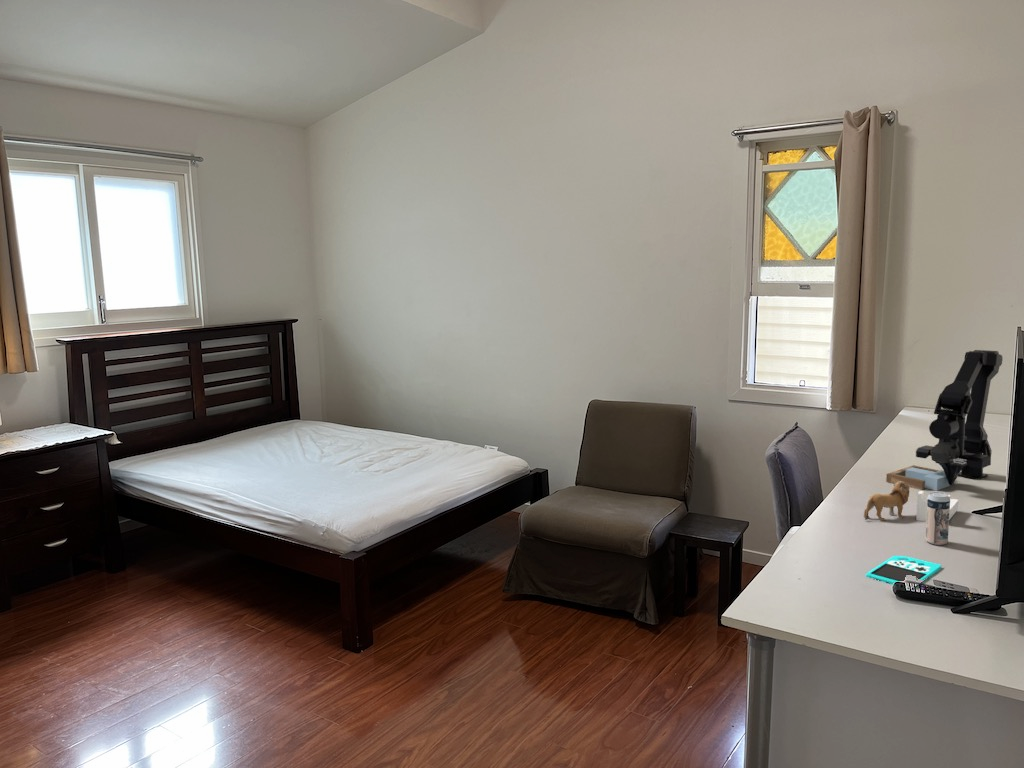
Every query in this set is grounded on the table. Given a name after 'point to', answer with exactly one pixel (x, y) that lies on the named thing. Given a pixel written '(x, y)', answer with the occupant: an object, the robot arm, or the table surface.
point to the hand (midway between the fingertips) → (951, 484)
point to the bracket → (923, 507)
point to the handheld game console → (903, 569)
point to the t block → (929, 478)
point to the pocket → (911, 482)
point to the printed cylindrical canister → (937, 518)
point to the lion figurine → (889, 500)
